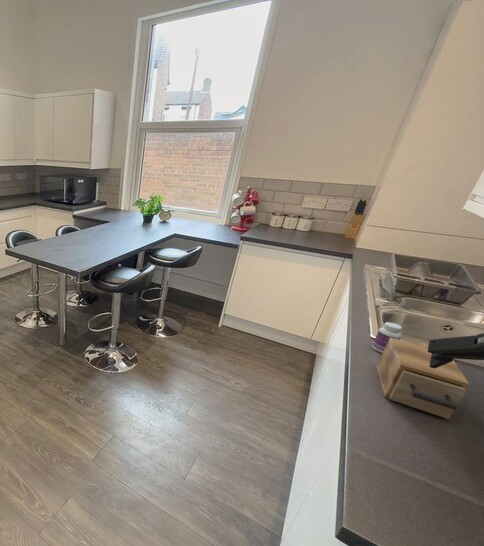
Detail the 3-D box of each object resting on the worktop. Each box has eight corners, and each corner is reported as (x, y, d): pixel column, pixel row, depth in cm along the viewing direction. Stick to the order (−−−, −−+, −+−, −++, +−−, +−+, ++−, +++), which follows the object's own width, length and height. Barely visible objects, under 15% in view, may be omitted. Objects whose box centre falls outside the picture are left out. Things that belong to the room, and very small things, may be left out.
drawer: (455, 432, 72) (474, 402, 69) (393, 410, 78) (407, 382, 75) (432, 385, 87) (447, 359, 83) (381, 370, 92) (393, 345, 89)
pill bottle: (392, 357, 100) (404, 331, 96) (370, 349, 104) (381, 324, 100) (393, 350, 103) (405, 325, 100) (372, 343, 107) (383, 319, 103)
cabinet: (448, 418, 77) (469, 384, 73) (384, 397, 83) (400, 364, 79) (430, 383, 89) (448, 352, 85) (375, 367, 95) (389, 337, 91)
